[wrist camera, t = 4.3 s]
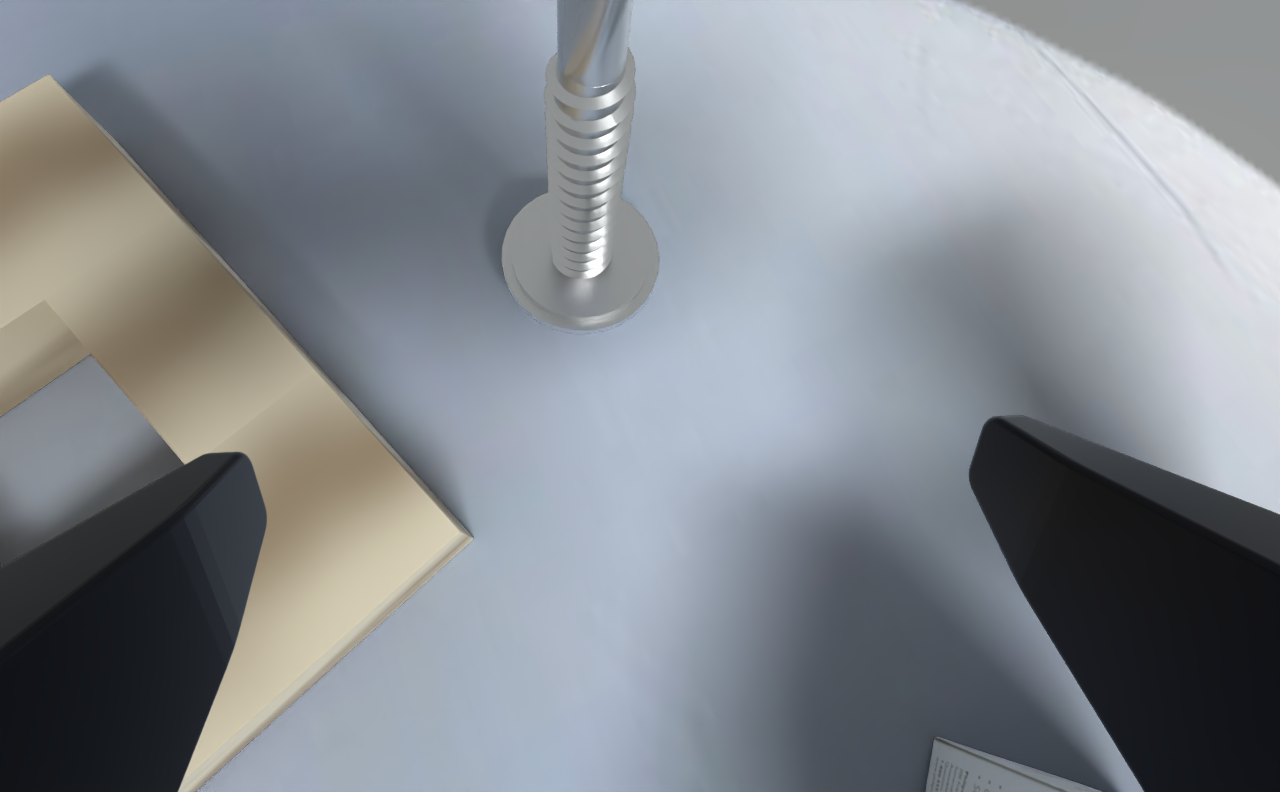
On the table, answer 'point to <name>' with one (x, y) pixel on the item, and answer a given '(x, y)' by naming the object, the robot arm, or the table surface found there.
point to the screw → (584, 185)
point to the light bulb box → (988, 773)
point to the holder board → (208, 402)
